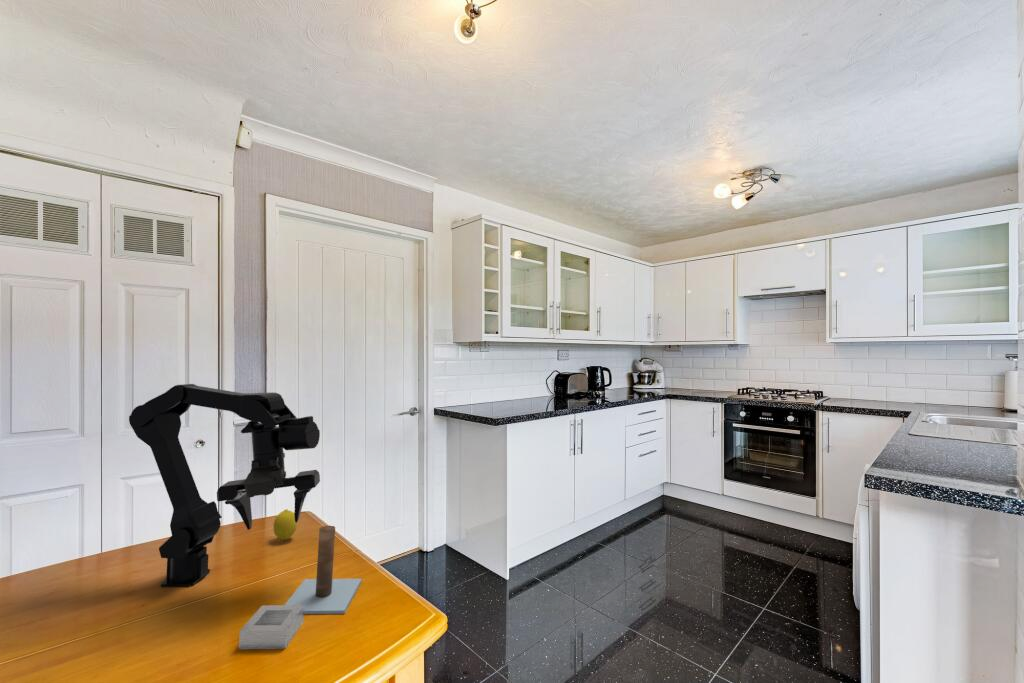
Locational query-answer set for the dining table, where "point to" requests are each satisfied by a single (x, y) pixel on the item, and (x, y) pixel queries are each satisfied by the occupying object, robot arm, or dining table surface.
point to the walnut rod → (325, 561)
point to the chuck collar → (271, 627)
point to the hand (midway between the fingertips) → (273, 525)
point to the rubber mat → (326, 605)
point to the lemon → (285, 524)
